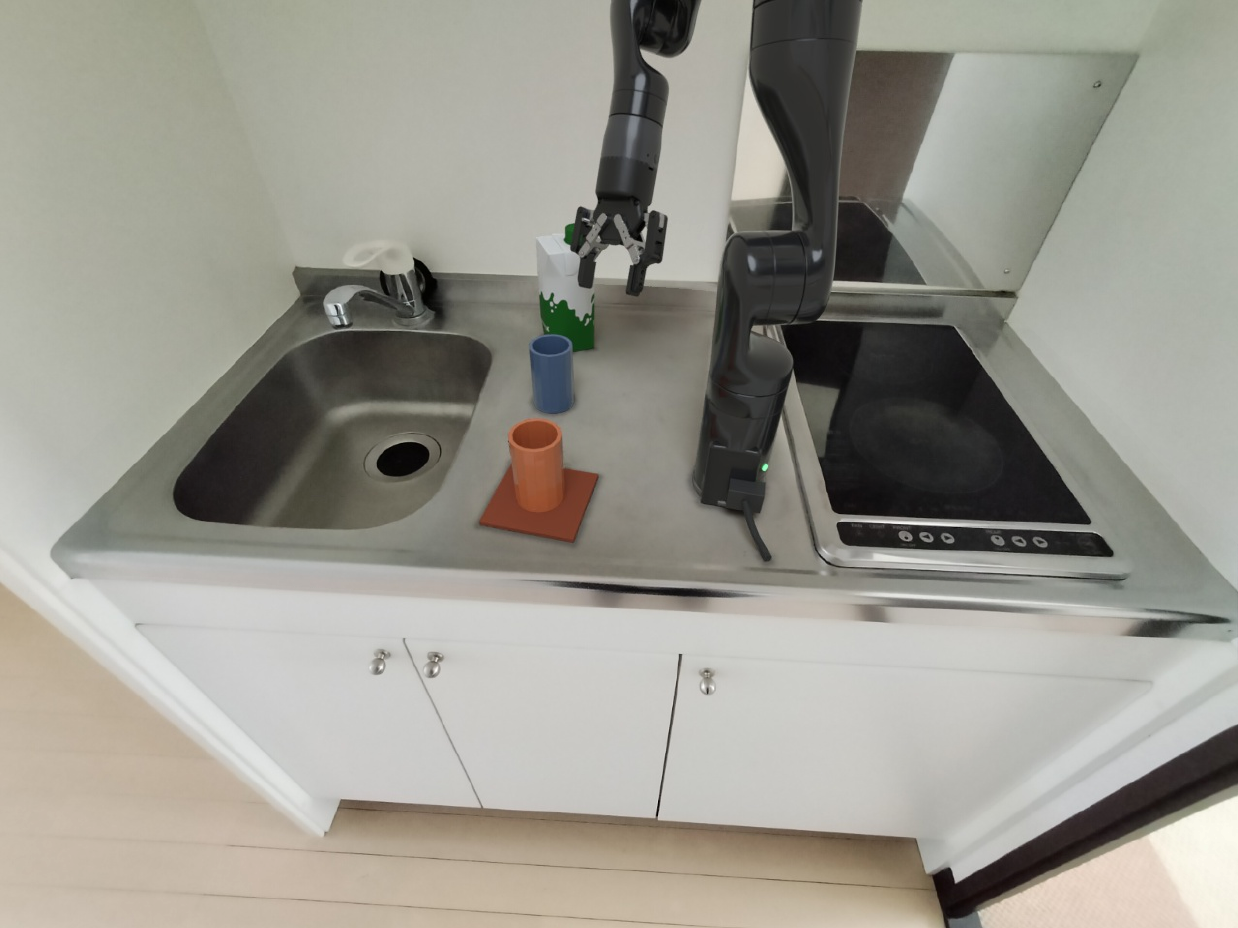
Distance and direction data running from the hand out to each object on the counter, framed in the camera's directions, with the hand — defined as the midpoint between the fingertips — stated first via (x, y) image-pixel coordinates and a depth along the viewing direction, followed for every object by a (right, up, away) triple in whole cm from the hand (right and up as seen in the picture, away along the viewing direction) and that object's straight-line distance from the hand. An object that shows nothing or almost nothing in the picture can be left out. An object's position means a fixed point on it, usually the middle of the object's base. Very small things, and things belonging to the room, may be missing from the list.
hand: (608, 291), depth 81 cm
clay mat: (-8, -28, -4) cm, 29 cm away
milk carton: (-8, -2, +26) cm, 27 cm away
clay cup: (-9, -27, -4) cm, 29 cm away
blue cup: (-9, -14, +12) cm, 20 cm away
